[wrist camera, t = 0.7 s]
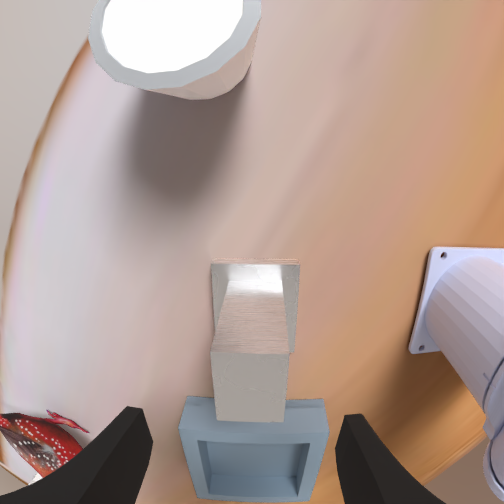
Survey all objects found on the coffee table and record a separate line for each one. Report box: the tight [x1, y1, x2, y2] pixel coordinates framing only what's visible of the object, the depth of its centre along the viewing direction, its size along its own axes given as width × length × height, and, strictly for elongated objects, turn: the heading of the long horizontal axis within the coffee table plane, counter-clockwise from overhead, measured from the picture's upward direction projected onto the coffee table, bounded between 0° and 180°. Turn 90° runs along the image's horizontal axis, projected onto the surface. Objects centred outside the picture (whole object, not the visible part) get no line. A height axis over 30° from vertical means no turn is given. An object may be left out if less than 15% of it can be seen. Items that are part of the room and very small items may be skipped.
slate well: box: [178, 396, 330, 502], centre depth 22 cm, size 10×11×4 cm
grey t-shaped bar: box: [210, 258, 300, 422], centre depth 16 cm, size 5×6×8 cm
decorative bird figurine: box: [0, 410, 89, 478], centre depth 20 cm, size 3×18×10 cm, turn 70°
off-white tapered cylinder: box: [88, 0, 261, 100], centre depth 12 cm, size 7×7×7 cm
